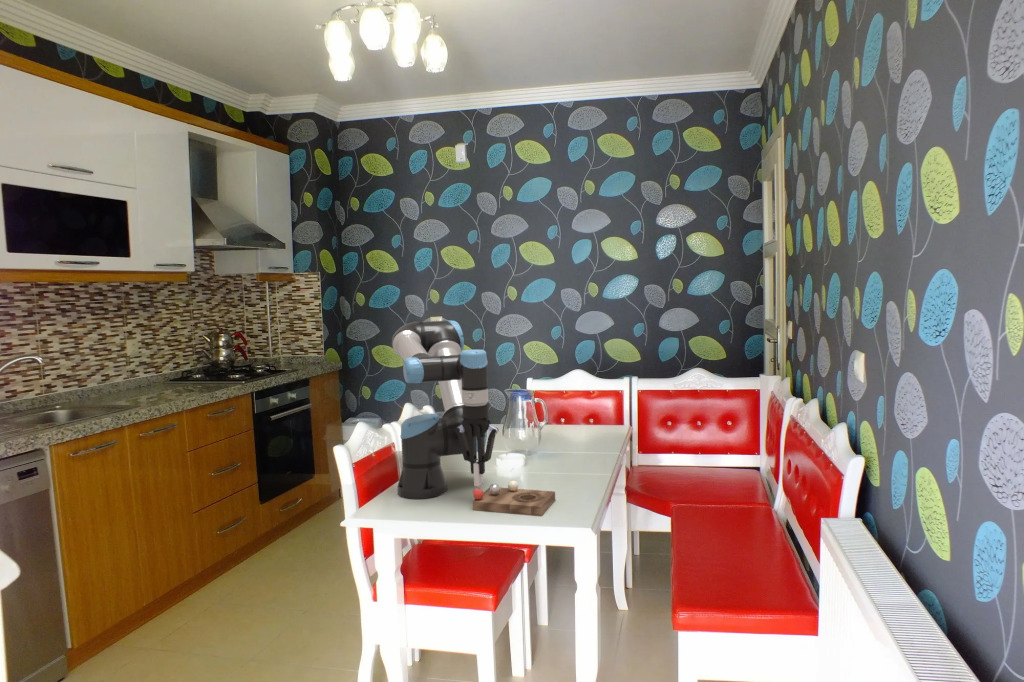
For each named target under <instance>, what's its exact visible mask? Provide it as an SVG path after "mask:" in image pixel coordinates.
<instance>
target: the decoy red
mask: <svg viewBox="0 0 1024 682" xmlns="http://www.w3.org/2000/svg"><path fill="white" fill-rule="evenodd" d="M483 492H484V491H483V489H481V488H476V489H475V490H474V491H473V492H472V497H473V498H474V500H475V499H477V500H480V499H482V498H483V496H484V493H483Z"/></svg>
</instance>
